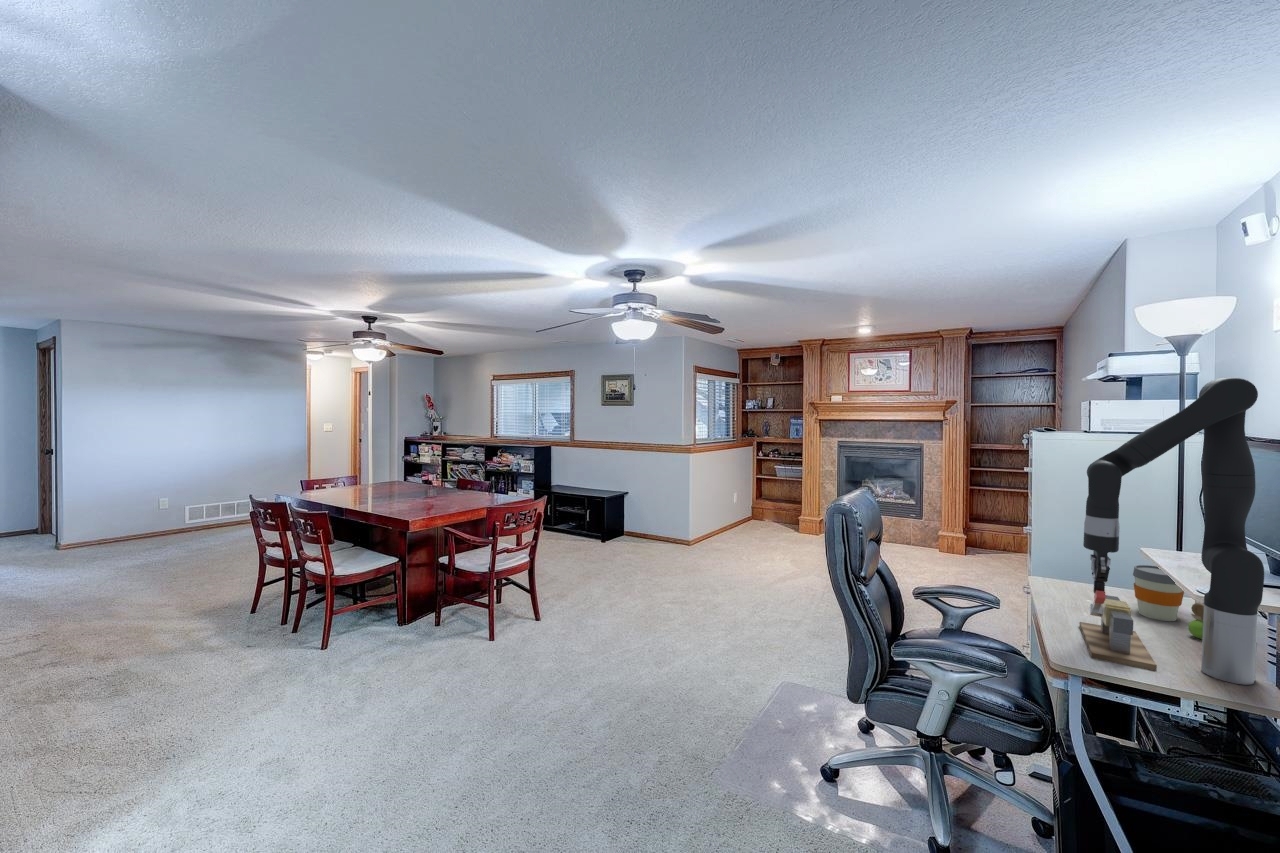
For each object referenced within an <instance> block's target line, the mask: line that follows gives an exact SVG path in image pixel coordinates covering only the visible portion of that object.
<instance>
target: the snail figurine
mask: <svg viewBox="0 0 1280 853" xmlns="http://www.w3.org/2000/svg"><path fill="white" fill-rule="evenodd" d="M1190 610H1191V612H1192V613H1191V616H1192V618H1193V620H1191V621H1190V623H1188V628H1187V629H1188V631H1189V633H1190V634H1191V635H1192V636H1194V637H1195V638H1197V639H1200V640H1202V639H1203V617H1204V616H1203V615H1204V603H1202V602H1195V603H1193V604H1192V605H1191V609H1190Z"/></svg>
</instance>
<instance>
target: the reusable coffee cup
mask: <svg viewBox="0 0 1280 853" xmlns="http://www.w3.org/2000/svg"><path fill="white" fill-rule="evenodd" d="M1158 567H1159V566H1158ZM1158 567H1157V565H1148V564H1146V565H1145V564H1139V565H1135V566H1133V573H1132V576H1133V578H1134V582H1133V590H1134V597H1135V598H1136V600H1137V606H1138V607H1137V609H1138V613H1139V614H1140V615H1141V616H1143V617H1146V618H1148V619H1153V620H1158V621H1164V622H1165V621H1166V622H1175V621H1176V620H1177V617H1178V613H1179V608H1180V607H1181V606H1182V603H1183V598H1184V594H1185V591H1184V589H1183V590H1182V589H1181V588H1179V587H1178V586H1177V585H1176V584H1175V582H1174V581H1173V580H1172V579H1171V578H1170V577H1169V576H1168V575H1167V574H1165V573H1164V572H1163V571H1162V570H1161V569H1159V568H1158Z"/></svg>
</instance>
